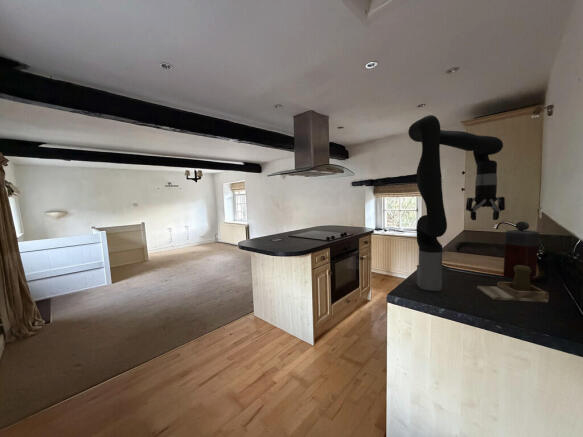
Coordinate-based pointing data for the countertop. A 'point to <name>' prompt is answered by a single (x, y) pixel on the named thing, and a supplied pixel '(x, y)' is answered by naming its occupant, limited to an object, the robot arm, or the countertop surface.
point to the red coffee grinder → (520, 250)
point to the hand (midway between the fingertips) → (484, 220)
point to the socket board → (514, 293)
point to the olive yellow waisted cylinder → (521, 278)
